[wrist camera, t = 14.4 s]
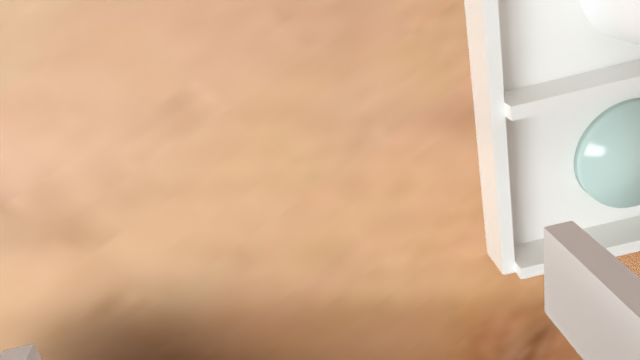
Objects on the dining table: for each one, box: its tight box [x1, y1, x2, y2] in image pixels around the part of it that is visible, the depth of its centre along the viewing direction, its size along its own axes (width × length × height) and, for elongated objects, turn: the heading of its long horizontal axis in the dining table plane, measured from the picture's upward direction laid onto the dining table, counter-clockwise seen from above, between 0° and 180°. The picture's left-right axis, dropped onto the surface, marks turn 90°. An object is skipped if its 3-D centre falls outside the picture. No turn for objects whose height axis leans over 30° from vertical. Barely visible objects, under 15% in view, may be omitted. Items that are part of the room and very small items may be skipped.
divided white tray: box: [464, 0, 640, 279], centre depth 37 cm, size 27×22×4 cm
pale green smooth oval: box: [574, 98, 640, 208], centre depth 40 cm, size 8×8×1 cm
